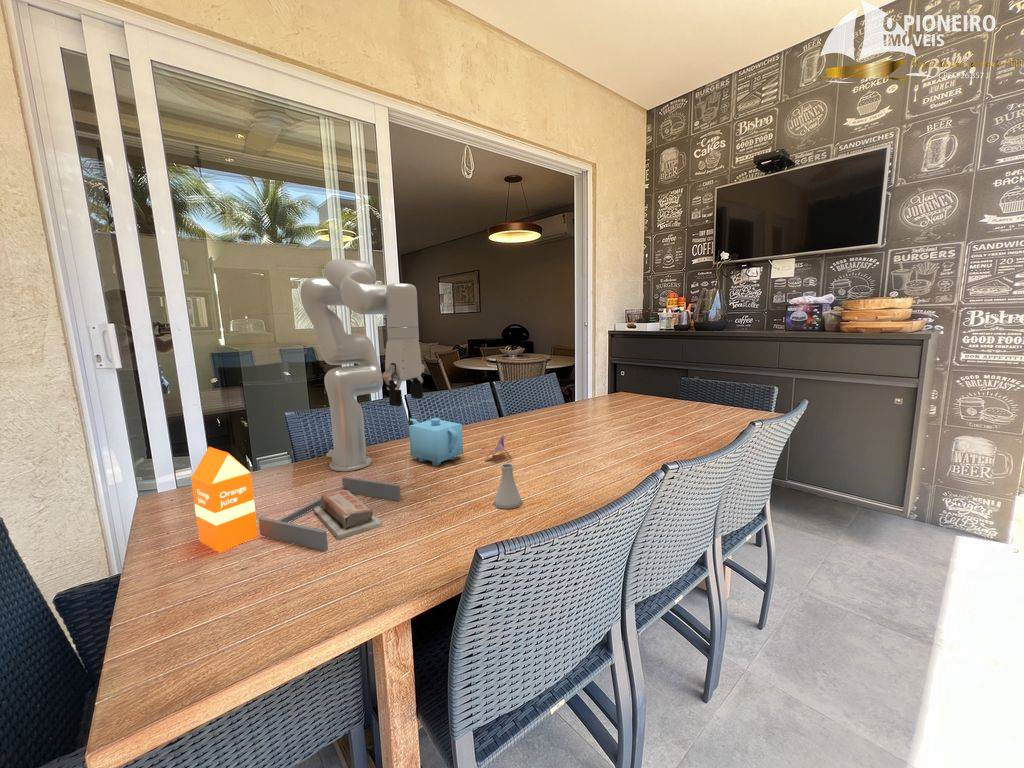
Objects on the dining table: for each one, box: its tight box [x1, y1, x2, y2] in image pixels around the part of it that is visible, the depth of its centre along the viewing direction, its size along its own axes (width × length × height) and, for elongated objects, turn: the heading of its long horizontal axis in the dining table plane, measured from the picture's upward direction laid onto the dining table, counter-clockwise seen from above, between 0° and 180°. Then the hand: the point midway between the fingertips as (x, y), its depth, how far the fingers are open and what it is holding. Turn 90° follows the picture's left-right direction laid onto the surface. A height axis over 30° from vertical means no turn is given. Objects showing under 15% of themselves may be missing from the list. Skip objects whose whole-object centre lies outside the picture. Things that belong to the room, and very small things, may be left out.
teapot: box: [408, 417, 464, 467], centre depth 140 cm, size 22×11×14 cm, turn 53°
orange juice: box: [190, 446, 259, 553], centre depth 89 cm, size 8×9×20 cm
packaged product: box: [313, 489, 383, 541], centre depth 99 cm, size 18×5×10 cm
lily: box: [485, 432, 513, 460], centre depth 140 cm, size 12×12×10 cm
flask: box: [493, 462, 523, 510], centre depth 106 cm, size 7×7×10 cm
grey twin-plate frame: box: [258, 476, 402, 552], centre depth 100 cm, size 18×26×4 cm
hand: (406, 401), depth 109 cm, fingers open, 9 cm apart
